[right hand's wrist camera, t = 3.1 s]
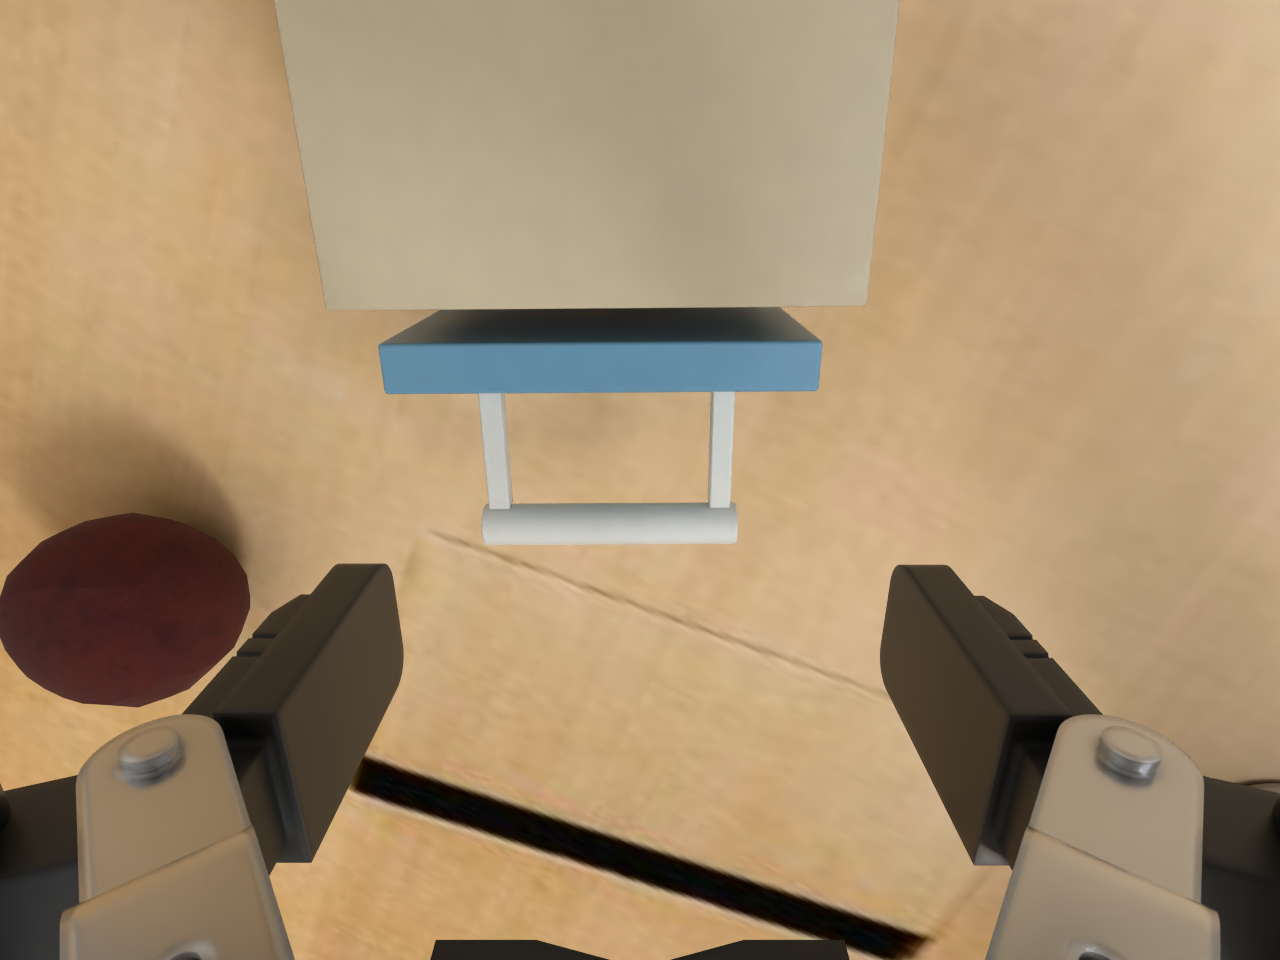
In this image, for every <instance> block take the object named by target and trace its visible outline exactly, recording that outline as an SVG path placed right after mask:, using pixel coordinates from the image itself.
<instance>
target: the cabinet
mask: <svg viewBox="0 0 1280 960" xmlns="http://www.w3.org/2000/svg"><path fill="white" fill-rule="evenodd" d="M899 2H900V0H274V4H275V10H276V16H277V22H278V28H279V34H280V40H281V46H282V52H283V57H284V63H285V69H286V75H287V81H288V87H289V93H290V99H291V105H292V111H293V117H294V122H295V128H296V134H297V140H298V146H299V152H300V158H301V164H302V170H303V176H304V182H305V188H306V193H307V199H308V205H309V211H310V217H311V223H312V229H313V235H314V241H315V247H316V253H317V258H318V264H319V270H320V276H321V282H322V288H323V294H324V300H325V306H326V309H327V310H329V311H330V310H459V309H588V308H717V307H846V306H866V305H867V298H868V289H869V279H870V270H871V261H872V252H873V242H874V233H875V224H876V215H877V205H878V196H879V187H880V178H881V168H882V159H883V150H884V141H885V131H886V122H887V113H888V104H889V94H890V85H891V76H892V67H893V57H894V48H895V39H896V30H897V20H898V11H899Z"/></svg>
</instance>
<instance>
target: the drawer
mask: <svg viewBox="0 0 1280 960" xmlns="http://www.w3.org/2000/svg"><path fill="white" fill-rule="evenodd" d="M378 348H379V355H380V362H381V369H382V375H383V382H384V389H385V392H386V393H387V394H473V393H478V396H479V407H480V417H481V428H482V438H483V449H484V459H485V470H486V480H487V491H488V501H489V504H486V505H485V507H484V509H483V513H482V537H483V541H484V543H485V544H486V545H574V544H734V543H736V540H737V533H738V517H737V508H736V504H735V503H730V499H731V476H732V452H733V429H734V405H735V392H761V391H816V390H818V388H819V377H820V366H821V354H822V341H821V340H819V339H818V338H817V337H816V336H814V335H813V334H812V333H811V332H810V331H808V330H807V329H806V328H805V327H803V326H802V325H801V324H800V323H798V322H797V321H796V320H795V319H794V318H792V317H791V316H790V315H789V314H787V313H786V312H785V311H784V310H782V309H781V308H780V307H717V308H588V309H459V310H440V311H438V312H436V313H434V314H433V315H431V316H429V317H427V318H425V319H424V320H422V321H420V322H418V323H417V324H415V325H413V326H411V327H409V328H408V329H406V330H404V331H402V332H401V333H399V334H397V335H395V336H393V337H392V338H390V339H388V340H386V341H384V342H383V343H381V344H379V347H378ZM617 392H711V408H710V442H709V476H708V502H709V503H566V504H512V502H513V495H512V482H511V470H510V458H509V445H508V433H507V421H506V408H505V396H504V393H617Z"/></svg>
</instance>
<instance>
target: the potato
mask: <svg viewBox="0 0 1280 960" xmlns="http://www.w3.org/2000/svg"><path fill="white" fill-rule="evenodd" d="M249 609H250V593H249V586H248V580H247V575H246V573H245V572H244V570H243V568H242V567H241V565H240V564H239V562H238V560H237V559H236V557H235V556H234V555H233V554H232V553H231V552H230V551H228V550H227V549H226V548H225V547H224V546H223V545H221V544H220V543H219V542H218V541H217V540H216V539H214V538H212V537H210V536H208V535H206V534H204V533H202V532H200V531H198V530H196V529H194V528H192V527H190V526H188V525H186V524H183V523H180V522H177V521H173V520H169V519H164V518H158V517H153V516H148V515H142V514H137V513H130V514H123V515H116V516H110V517H105V518H100V519H95V520H90V521H85V522H83V523H81V524H78V525H76V526H74V527H71V528H69V529H67V530H64V531H62V532H60V533H58V534H56V535H54V536H52V537H50V538H48V539H46V540H44V541H42V542H41V543H40V544H39V545H38V546H37V547H36V548H35V549H33V550H32V551H31V552H30V553H29V554H28V555H27V556H26V557H25V558H24V559H23V560H22V561H21V562H20V563H19V564H18V565H17V566H16V567H15V568H14V569H13V571H12V572H11V573H10V574H9V575H8V576H7V578H6V581H5V584H4V587H3V590H2V593H1V596H0V638H1V641H2V643H3V646H4V648H5V650H6V652H7V653H8V654H9V656H10V657H11V658H12V660H13V661H14V662H15V663H16V665H17V666H18V667H19V669H20V670H21V671H22V672H23V673H24V674H25V675H26V676H27V677H28V678H30V679H31V680H32V681H34V682H35V683H37V684H38V685H40V686H41V687H43V688H44V689H46V690H48V691H51V692H53V693H55V694H57V695H59V696H61V697H63V698H66V699H69V700H73V701H76V702H80V703H83V704H100V705H115V706H128V707H141V706H144V705H147V704H150V703H153V702H156V701H159V700H162V699H165V698H168V697H170V696H173V695H175V694H178V693H180V692H182V691H185V690H187V689H189V688H190V687H192V686H193V685H194V684H195V683H196V682H197V681H198V680H199V679H201V678H202V677H203V676H204V675H205V674H206V673H207V672H208V671H210V670H211V669H212V668H213V667H214V666H215V665H216V664H217V663H218V662H219V661H220V660H221V659H222V658H223V657H224V656H225V655H226V654H228V653H229V652H230V651H231V650H232V649H233V648H234V646H235V644H236V642H237V640H238V638H239V636H240V634H241V631H242V629H243V626H244V623H245V620H246V618H247V615H248V612H249Z"/></svg>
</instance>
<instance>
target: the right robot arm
mask: <svg viewBox="0 0 1280 960" xmlns="http://www.w3.org/2000/svg"><path fill="white" fill-rule="evenodd" d="M880 665H881V673H882V678H883V682H884V685H885V687H886V690H887V692H888V694H889V696H890V698H891V700H892V702H893V704H894V706H895V708H896V710H897V712H898V714H899V716H900V718H901V720H902V722H903V724H904V726H905V728H906V730H907V732H908V734H909V736H910V738H911V740H912V742H913V744H914V746H915V748H916V750H917V752H918V754H919V756H920V758H921V760H922V762H923V764H924V766H925V768H926V770H927V772H928V774H929V776H930V778H931V780H932V782H933V784H934V786H935V788H936V790H937V792H938V794H939V796H940V798H941V800H942V802H943V804H944V806H945V808H946V810H947V812H948V814H949V816H950V818H951V820H952V822H953V824H954V826H955V828H956V830H957V832H958V834H959V836H960V838H961V840H962V842H963V844H964V846H965V848H966V850H967V852H968V854H969V856H970V858H971V860H972V862H973V864H974V865H1009V866H1010V867H1011V869H1012V871H1013V872H1012V875H1011V878H1010V881H1009V885H1008V888H1007V891H1006V894H1005V898H1004V901H1003V904H1002V907H1001V910H1000V914H999V917H998V920H997V923H996V927H995V930H994V933H993V936H992V940H991V943H990V946H989V949H988V952H987V956H986V959H985V960H1280V783H1265V784H1256V785H1250V786H1245V785H1240V784H1236V783H1231V782H1226V781H1222V780H1217V779H1213V778H1208V777H1205V776H1202V774H1201V771H1200V769H1199V768H1198V766H1197V765H1196V764H1195V762H1194V761H1193V760H1192V759H1191V758H1190V757H1189V756H1188V755H1187V754H1186V753H1185V752H1184V751H1183V750H1182V749H1181V748H1179V747H1178V746H1177V745H1175V744H1174V743H1173V742H1171V741H1170V740H1168V739H1167V738H1165V737H1163V736H1162V735H1160V734H1158V733H1156V732H1154V731H1152V730H1150V729H1148V728H1146V727H1144V726H1141V725H1139V724H1136V723H1134V722H1131V721H1127V720H1124V719H1121V718H1116V717H1112V716H1106V715H1103V714H1102V713H1101V712H1100V711H1099V710H1098V709H1097V708H1096V707H1095V705H1094V704H1093V703H1092V702H1091V701H1090V700H1089V699H1088V698H1087V696H1086V695H1085V694H1084V693H1083V692H1082V691H1081V690H1080V689H1079V687H1078V686H1077V685H1076V684H1075V683H1074V682H1073V681H1072V680H1071V678H1070V677H1069V676H1068V675H1067V674H1066V673H1065V672H1064V671H1063V670H1062V668H1061V667H1060V666H1059V665H1058V664H1057V663H1056V662H1055V661H1054V659H1053V658H1049V657H1048V653H1047V652H1046V650H1045V649H1044V648H1043V647H1042V646H1041V645H1040V644H1039V643H1038V641H1037V640H1033V639H1032V635H1031V634H1030V632H1029V631H1028V630H1027V629H1026V628H1025V627H1024V626H1023V625H1022V624H1021V622H1020V621H1019V620H1018V619H1017V618H1016V617H1015V616H1014V615H1013V614H1012V613H1010V612H1009V611H1007V610H1006V609H1004V608H1002V607H1001V606H999V605H997V604H996V603H994V602H993V601H991V600H989V599H988V598H986V597H984V596H974V595H973V594H972V593H971V592H970V590H969V589H968V588H967V587H966V586H965V584H964V583H963V582H962V581H961V580H960V578H959V577H958V576H957V575H956V574H955V572H954V571H953V570H952V569H951V568H950V567H949V566H947V565H898V566H896V567H895V569H894V571H893V573H892V576H891V581H890V588H889V594H888V601H887V608H886V614H885V621H884V628H883V634H882V641H881V649H880ZM402 669H403V642H402V636H401V629H400V622H399V615H398V608H397V602H396V595H395V588H394V581H393V576H392V572H391V570H390V568H389V566H388V565H387V564H337V565H335V566H334V567H333V568H332V569H331V570H330V572H329V573H328V574H327V575H326V576H325V578H324V579H323V580H322V581H321V582H320V584H319V585H318V586H317V587H316V588H315V590H314V591H313V592H312V593H311V595H299V596H298V597H296V598H295V599H293V600H291V601H290V602H288V603H286V604H285V605H283V606H282V607H280V608H278V609H277V610H275V611H274V612H272V613H271V614H270V615H269V616H268V617H267V618H266V619H265V621H264V622H263V623H262V624H261V625H260V626H259V627H258V629H257V630H256V631H255V632H254V633H253V637H252V638H249V639H248V640H247V641H246V642H245V643H244V644H243V645H242V647H241V648H240V649H239V650H238V651H237V656H236V657H232V658H231V659H230V660H229V661H228V662H227V664H226V665H225V666H224V667H223V668H222V669H221V670H220V672H219V673H218V674H217V675H216V676H215V677H214V678H213V679H212V681H211V682H210V683H209V684H208V685H207V686H206V687H205V689H204V690H203V691H202V692H201V693H200V694H199V695H198V696H197V698H196V699H195V700H194V701H193V702H192V703H191V704H190V706H189V707H188V708H187V709H186V710H185V711H184V712H183V713H182V715H174V716H168V717H164V718H159V719H156V720H153V721H149V722H146V723H144V724H141V725H139V726H136V727H134V728H132V729H130V730H128V731H126V732H124V733H122V734H120V735H118V736H117V737H115V738H113V739H112V740H110V741H109V742H107V743H106V744H105V745H103V746H102V747H101V748H99V749H98V750H97V751H96V752H95V753H94V754H93V755H92V756H91V757H90V758H89V759H88V760H87V761H86V762H85V764H84V765H83V766H82V768H81V769H80V771H79V774H78V775H76V776H72V777H67V778H62V779H58V780H53V781H49V782H44V783H39V784H35V785H30V786H26V787H21V788H16V789H12V790H7V791H3V789H2V786H1V784H0V960H295V959H294V956H293V952H292V949H291V946H290V943H289V940H288V936H287V933H286V930H285V927H284V923H283V920H282V917H281V914H280V910H279V907H278V904H277V901H276V898H275V894H274V891H273V888H272V885H271V881H270V878H269V875H270V873H271V872H272V870H273V868H274V866H275V864H276V863H311V862H312V860H313V858H314V856H315V854H316V852H317V850H318V848H319V846H320V844H321V842H322V840H323V838H324V836H325V834H326V832H327V830H328V828H329V826H330V824H331V822H332V820H333V818H334V816H335V814H336V812H337V809H338V807H339V805H340V803H341V801H342V799H343V797H344V795H345V793H346V791H347V789H348V787H349V785H350V783H351V781H352V779H353V777H354V775H355V773H356V771H357V769H358V767H359V765H360V763H361V761H362V759H363V757H364V755H365V753H366V751H367V749H368V747H369V745H370V743H371V740H372V738H373V736H374V734H375V732H376V730H377V728H378V726H379V724H380V722H381V720H382V718H383V716H384V714H385V712H386V710H387V708H388V706H389V704H390V702H391V700H392V698H393V696H394V694H395V692H396V690H397V688H398V685H399V682H400V679H401V675H402ZM431 960H608V959H605V958H601V957H597V956H593V955H590V954H586V953H582V952H579V951H575V950H571V949H568V948H564V947H560V946H556V945H553V944H549V943H545V942H542V941H538V940H436V942H435V945H434V949H433V953H432V956H431ZM672 960H849V956H848V953H847V949H846V945H845V942H844V940H742V941H738V942H735V943H731V944H727V945H724V946H720V947H716V948H712V949H709V950H705V951H701V952H698V953H694V954H690V955H687V956H683V957H679V958H675V959H672Z"/></svg>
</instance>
